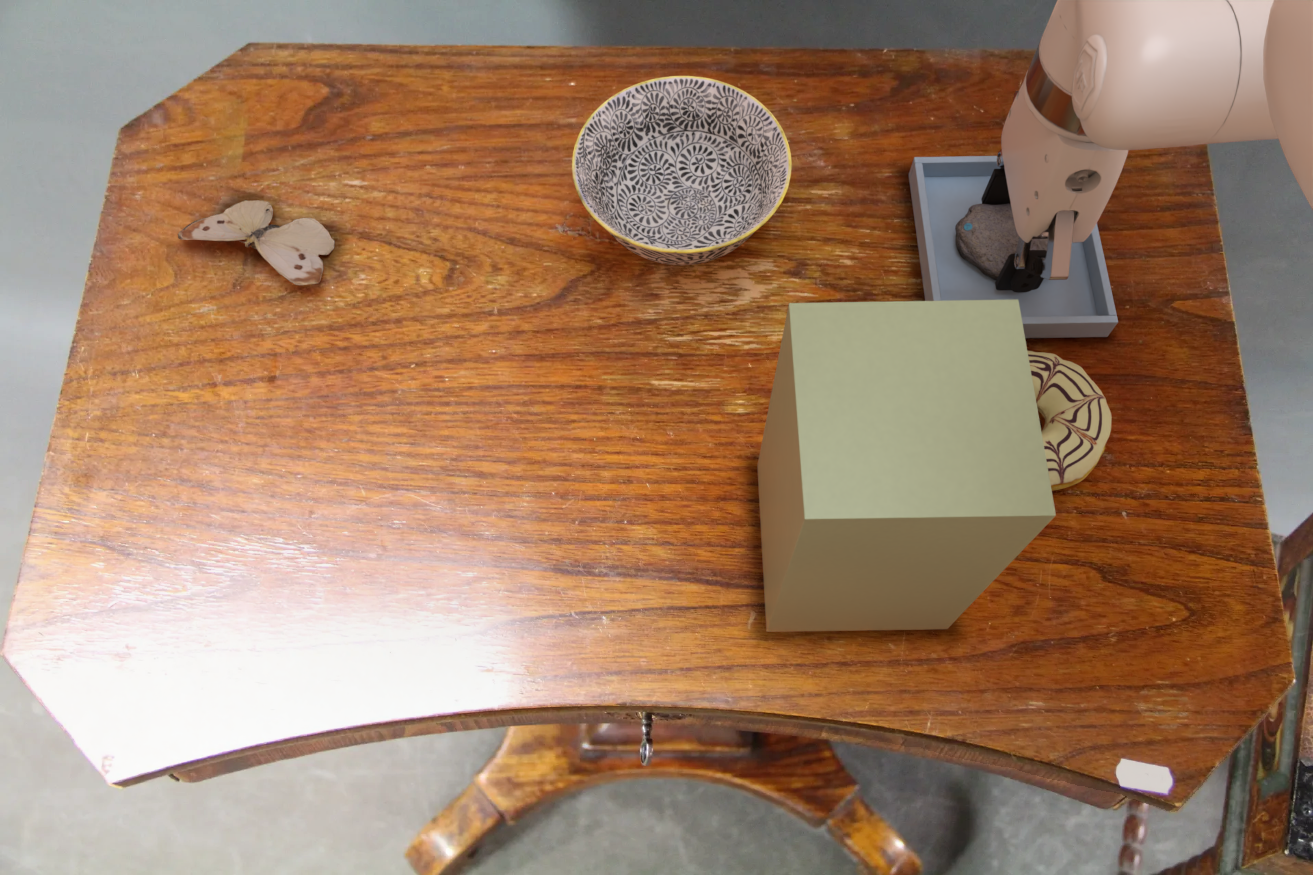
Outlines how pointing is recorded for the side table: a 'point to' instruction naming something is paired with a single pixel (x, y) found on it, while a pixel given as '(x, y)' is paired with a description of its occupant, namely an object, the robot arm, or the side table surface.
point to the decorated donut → (1069, 418)
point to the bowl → (681, 168)
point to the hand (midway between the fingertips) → (1008, 243)
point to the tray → (947, 276)
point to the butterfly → (269, 238)
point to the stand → (897, 463)
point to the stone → (989, 237)
